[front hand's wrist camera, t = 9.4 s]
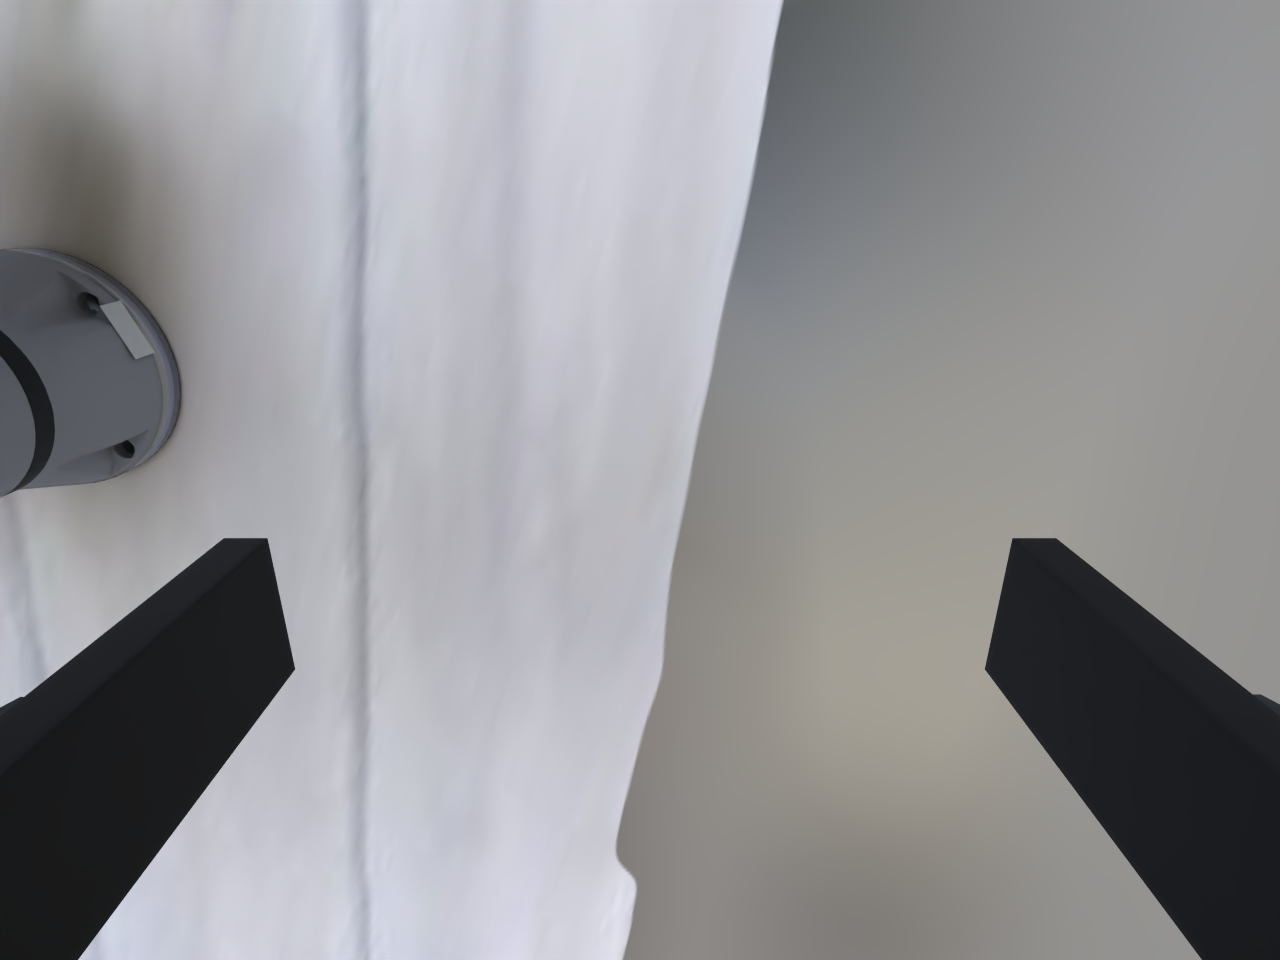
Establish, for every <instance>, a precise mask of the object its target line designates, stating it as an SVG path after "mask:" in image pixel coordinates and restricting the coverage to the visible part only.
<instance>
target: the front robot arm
mask: <svg viewBox="0 0 1280 960" xmlns="http://www.w3.org/2000/svg"><path fill="white" fill-rule="evenodd" d="M179 400H180V388H179V378H178V372H177V368H176V364H175V360H174V358H173V355H172V352H171V349H170V347H169V345H168V343H167V341H166V339H165V337H164V335H163V333H162V331H161V330H160V328H159V326H158V325H157V323H156V322H155V320H154V319H153V317H152V316H151V315H150V314H149V312H148V311H147V310H146V309H145V307H144V306H143V305H142V304H141V303H140V302H139V301H138V300H137V299H136V298H135V296H133V295H132V294H131V293H130V292H129V291H128V290H127V289H126V288H125V287H124V286H122V285H121V284H120V283H118V282H117V281H116V280H115V279H113V278H112V277H110V276H109V275H107V274H106V273H104V272H103V271H101V270H99V269H97V268H96V267H94V266H92V265H90V264H88V263H86V262H84V261H82V260H79V259H77V258H74V257H71V256H69V255H66V254H62V253H58V252H55V251H49V250H43V249H32V248H22V249H4V250H0V498H1V497H3V496H5V495H7V494H9V493H12V492H14V491H16V490H19V489H30V488H42V487H54V486H65V485H77V484H87V483H95V482H100V481H104V480H107V479H110V478H113V477H116V476H118V475H120V474H122V473H124V472H126V471H128V470H130V469H132V468H134V467H136V466H138V465H140V464H142V463H143V462H145V461H146V460H148V459H149V458H150V457H152V456H153V455H154V454H155V453H156V452H157V451H158V450H159V449H160V448H161V447H162V446H163V444H164V443H165V442H166V440H167V439H168V437H169V435H170V434H171V432H172V429H173V427H174V425H175V422H176V418H177V415H178V409H179ZM294 670H295V667H294V662H293V657H292V652H291V648H290V643H289V638H288V633H287V629H286V624H285V619H284V615H283V610H282V605H281V600H280V596H279V591H278V586H277V581H276V577H275V572H274V567H273V562H272V558H271V553H270V548H269V544H268V539H267V538H224V539H223V540H221V541H220V542H219V543H217V544H216V545H215V546H214V547H212V548H211V549H210V550H209V551H207V552H206V553H205V554H204V555H202V556H201V557H200V558H199V559H197V560H196V561H195V562H194V563H192V564H191V565H190V566H189V567H187V568H186V569H185V570H184V571H182V572H181V573H180V574H178V575H177V576H176V577H175V578H173V579H172V580H171V581H170V582H168V583H167V584H166V585H165V586H163V587H162V588H161V589H160V590H158V591H157V592H156V593H155V594H153V595H152V596H151V597H150V598H148V599H147V600H146V601H145V602H143V603H142V604H141V605H139V606H138V607H137V608H136V609H134V610H133V611H132V612H131V613H129V614H128V615H127V616H126V617H124V618H123V619H122V620H121V621H119V622H118V623H117V624H116V625H114V626H113V627H112V628H111V629H109V630H108V631H107V632H106V633H104V634H103V635H102V636H100V637H99V638H98V639H97V640H95V641H94V642H93V643H92V644H90V645H89V646H88V647H87V648H85V649H84V650H83V651H82V652H80V653H79V654H78V655H77V656H75V657H74V658H73V659H72V660H70V661H69V662H68V663H67V664H65V665H64V666H63V667H61V668H60V669H59V670H58V671H56V672H55V673H54V674H53V675H51V676H50V677H49V678H48V679H46V680H45V681H44V682H43V683H41V684H40V685H39V686H38V687H36V688H35V689H34V690H33V691H31V692H30V693H29V694H28V695H26V696H25V697H19V698H18V699H16V700H14V701H12V702H10V703H8V704H6V705H4V706H2V707H1V708H0V960H78V959H79V958H80V956H81V955H82V954H83V952H84V951H85V950H86V948H87V947H88V946H89V944H90V943H91V942H92V940H93V939H94V938H95V936H96V935H97V934H98V932H99V931H100V930H101V928H102V927H103V926H104V924H105V923H106V922H107V920H108V919H109V917H110V916H111V915H112V913H113V912H114V911H115V909H116V908H117V907H118V905H119V904H120V903H121V901H122V900H123V899H124V897H125V896H126V895H127V893H128V892H129V891H130V889H131V888H132V887H133V885H134V884H135V883H136V881H137V880H138V879H139V877H140V876H141V875H142V873H143V872H144V871H145V869H146V868H147V867H148V865H149V864H150V863H151V861H152V860H153V859H154V857H155V856H156V855H157V853H158V852H159V851H160V849H161V848H162V847H163V845H164V844H165V843H166V841H167V840H168V839H169V837H170V836H171V835H172V833H173V832H174V831H175V829H176V828H177V827H178V825H179V824H180V822H181V821H182V820H183V818H184V817H185V816H186V814H187V813H188V812H189V810H190V809H191V808H192V806H193V805H194V804H195V802H196V801H197V800H198V798H199V797H200V796H201V794H202V793H203V792H204V790H205V789H206V788H207V786H208V785H209V784H210V782H211V781H212V780H213V778H214V777H215V776H216V774H217V773H218V772H219V770H220V769H221V768H222V766H223V765H224V764H225V762H226V761H227V760H228V758H229V757H230V756H231V754H232V753H233V752H234V750H235V749H236V748H237V746H238V745H239V744H240V742H241V741H242V740H243V738H244V737H245V736H246V734H247V733H248V732H249V730H250V729H251V727H252V726H253V725H254V723H255V722H256V721H257V719H258V718H259V717H260V715H261V714H262V713H263V711H264V710H265V709H266V707H267V706H268V705H269V703H270V702H271V701H272V699H273V698H274V697H275V695H276V694H277V693H278V691H279V690H280V689H281V687H282V686H283V685H284V683H285V682H286V681H287V679H288V678H289V677H290V675H291V674H292V673H293V671H294ZM985 670H986V671H987V673H988V674H989V675H990V677H991V678H992V679H993V681H994V682H995V683H996V685H997V686H998V687H999V689H1000V690H1001V691H1002V693H1003V694H1004V695H1005V697H1006V698H1007V699H1008V701H1009V702H1010V703H1011V705H1012V706H1013V707H1014V709H1015V710H1016V711H1017V713H1018V714H1019V715H1020V717H1021V718H1022V719H1023V721H1024V722H1025V723H1026V725H1027V726H1028V727H1029V729H1030V730H1031V731H1032V733H1033V734H1034V736H1035V737H1036V738H1037V739H1038V741H1039V742H1040V744H1041V745H1042V746H1043V747H1044V749H1045V750H1046V752H1047V753H1048V754H1049V756H1050V757H1051V758H1052V760H1053V761H1054V762H1055V764H1056V765H1057V766H1058V768H1059V769H1060V770H1061V772H1062V773H1063V774H1064V776H1065V777H1066V778H1067V780H1068V781H1069V782H1070V784H1071V785H1072V786H1073V788H1074V789H1075V790H1076V792H1077V793H1078V794H1079V796H1080V797H1081V798H1082V800H1083V801H1084V802H1085V804H1086V805H1087V806H1088V808H1089V809H1090V810H1091V812H1092V813H1093V814H1094V816H1095V817H1096V818H1097V820H1098V821H1099V822H1100V824H1101V825H1102V826H1103V828H1104V829H1105V831H1106V832H1107V833H1108V835H1109V836H1110V837H1111V838H1112V840H1113V841H1114V843H1115V844H1116V845H1117V847H1118V848H1119V849H1120V851H1121V852H1122V853H1123V855H1124V856H1125V857H1126V859H1127V860H1128V861H1129V863H1130V864H1131V865H1132V867H1133V868H1134V869H1135V871H1136V872H1137V873H1138V875H1139V876H1140V877H1141V879H1142V880H1143V881H1144V883H1145V884H1146V885H1147V887H1148V888H1149V889H1150V891H1151V892H1152V893H1153V895H1154V896H1155V897H1156V899H1157V900H1158V901H1159V903H1160V904H1161V905H1162V907H1163V908H1164V909H1165V911H1166V912H1167V913H1168V915H1169V916H1170V917H1171V919H1172V920H1173V921H1174V923H1175V924H1176V926H1177V927H1178V928H1179V930H1180V931H1181V932H1182V934H1183V935H1184V936H1185V938H1186V939H1187V940H1188V942H1189V943H1190V944H1191V946H1192V947H1193V948H1194V950H1195V951H1196V952H1197V954H1198V955H1199V956H1200V958H1201V959H1202V960H1280V704H1278V703H1276V702H1274V701H1272V700H1270V699H1268V698H1266V697H1264V696H1263V695H1252V694H1251V693H1250V692H1249V691H1247V690H1246V689H1245V688H1244V687H1242V686H1241V685H1240V684H1239V683H1237V682H1236V681H1235V680H1234V679H1232V678H1231V677H1230V676H1229V675H1227V674H1226V673H1225V672H1223V671H1222V670H1221V669H1220V668H1219V667H1217V666H1216V665H1215V664H1213V663H1212V662H1211V661H1210V660H1208V659H1207V658H1206V657H1205V656H1203V655H1202V654H1201V653H1200V652H1198V651H1197V650H1196V649H1195V648H1193V647H1192V646H1191V645H1190V644H1188V643H1187V642H1186V641H1185V640H1183V639H1182V638H1181V637H1179V636H1178V635H1177V634H1176V633H1174V632H1173V631H1172V630H1171V629H1169V628H1168V627H1167V626H1166V625H1164V624H1163V623H1162V622H1161V621H1159V620H1158V619H1157V618H1156V617H1154V616H1153V615H1152V614H1151V613H1149V612H1148V611H1147V610H1145V609H1144V608H1143V607H1142V606H1141V605H1139V604H1138V603H1137V602H1135V601H1134V600H1133V599H1132V598H1130V597H1129V596H1128V595H1127V594H1125V593H1124V592H1123V591H1122V590H1120V589H1119V588H1118V587H1117V586H1115V585H1114V584H1113V583H1112V582H1110V581H1109V580H1108V579H1107V578H1105V577H1104V576H1103V575H1102V574H1100V573H1099V572H1098V571H1096V570H1095V569H1094V568H1093V567H1091V566H1090V565H1089V564H1088V563H1086V562H1085V561H1084V560H1083V559H1081V558H1080V557H1079V556H1078V555H1076V554H1075V553H1074V552H1073V551H1071V550H1070V549H1069V548H1067V547H1066V546H1065V545H1064V544H1063V543H1061V542H1060V541H1059V540H1057V539H1056V538H1013V539H1012V544H1011V548H1010V553H1009V558H1008V563H1007V567H1006V572H1005V577H1004V581H1003V586H1002V591H1001V596H1000V600H999V605H998V610H997V614H996V619H995V624H994V629H993V633H992V638H991V643H990V648H989V653H988V657H987V662H986V667H985Z"/></svg>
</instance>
